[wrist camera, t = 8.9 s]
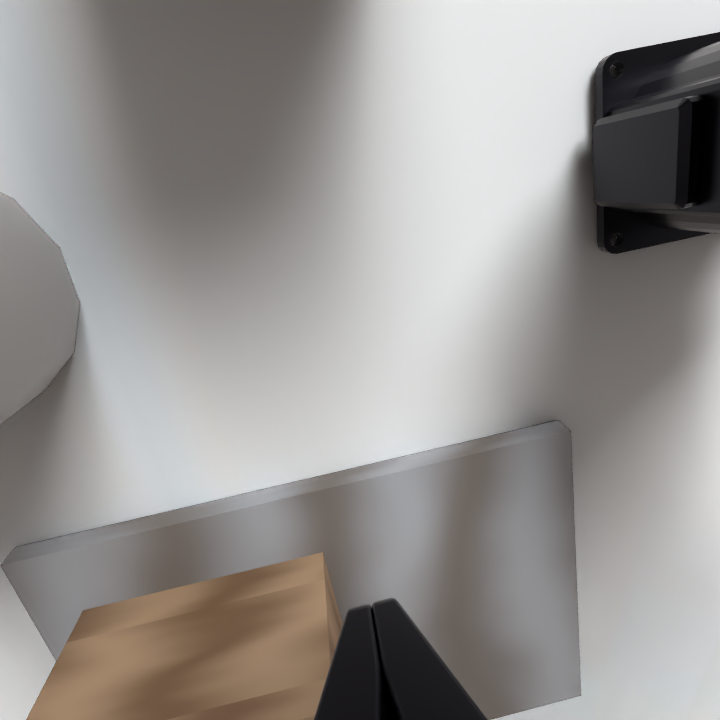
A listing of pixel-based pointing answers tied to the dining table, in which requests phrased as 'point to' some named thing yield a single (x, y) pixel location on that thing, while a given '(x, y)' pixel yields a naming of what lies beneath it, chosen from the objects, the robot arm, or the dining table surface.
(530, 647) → the wooden block on base
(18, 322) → the cup
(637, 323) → the dining table surface
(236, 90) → the dining table surface
